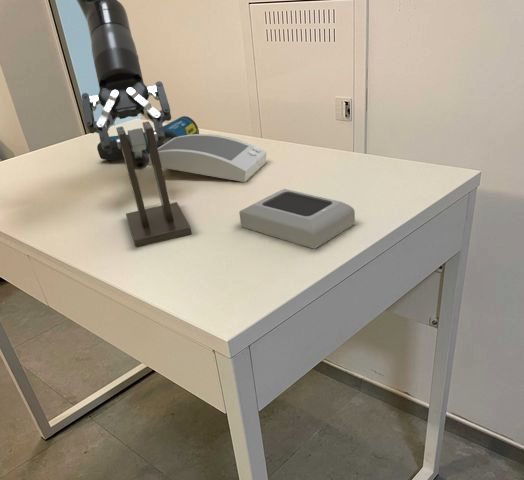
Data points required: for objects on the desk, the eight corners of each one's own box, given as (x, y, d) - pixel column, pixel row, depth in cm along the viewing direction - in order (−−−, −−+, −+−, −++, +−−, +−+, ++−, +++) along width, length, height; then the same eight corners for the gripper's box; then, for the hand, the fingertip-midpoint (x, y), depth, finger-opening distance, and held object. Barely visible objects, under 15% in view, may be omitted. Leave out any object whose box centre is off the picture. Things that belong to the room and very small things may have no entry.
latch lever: (131, 174, 94) (125, 153, 93) (151, 169, 94) (146, 148, 94) (128, 151, 81) (121, 127, 80) (152, 146, 81) (145, 122, 81)
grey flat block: (279, 183, 90) (354, 200, 81) (281, 205, 92) (354, 224, 83) (238, 204, 85) (313, 224, 76) (241, 226, 87) (314, 249, 78)
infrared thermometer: (130, 149, 133) (203, 143, 126) (100, 168, 123) (178, 162, 116) (121, 122, 129) (197, 114, 122) (91, 139, 120) (170, 132, 112)
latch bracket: (127, 219, 94) (101, 124, 85) (178, 208, 96) (157, 113, 87) (135, 247, 85) (107, 143, 76) (191, 233, 87) (170, 130, 77)
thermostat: (247, 183, 103) (243, 152, 99) (151, 179, 110) (144, 150, 107) (267, 163, 111) (264, 134, 107) (177, 160, 118) (171, 133, 115)
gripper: (68, 52, 90) (87, 142, 88) (154, 39, 91) (175, 127, 89) (80, 82, 97) (97, 165, 95) (159, 69, 99) (178, 151, 96)
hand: (134, 146), depth 92 cm, fingers open, 8 cm apart
